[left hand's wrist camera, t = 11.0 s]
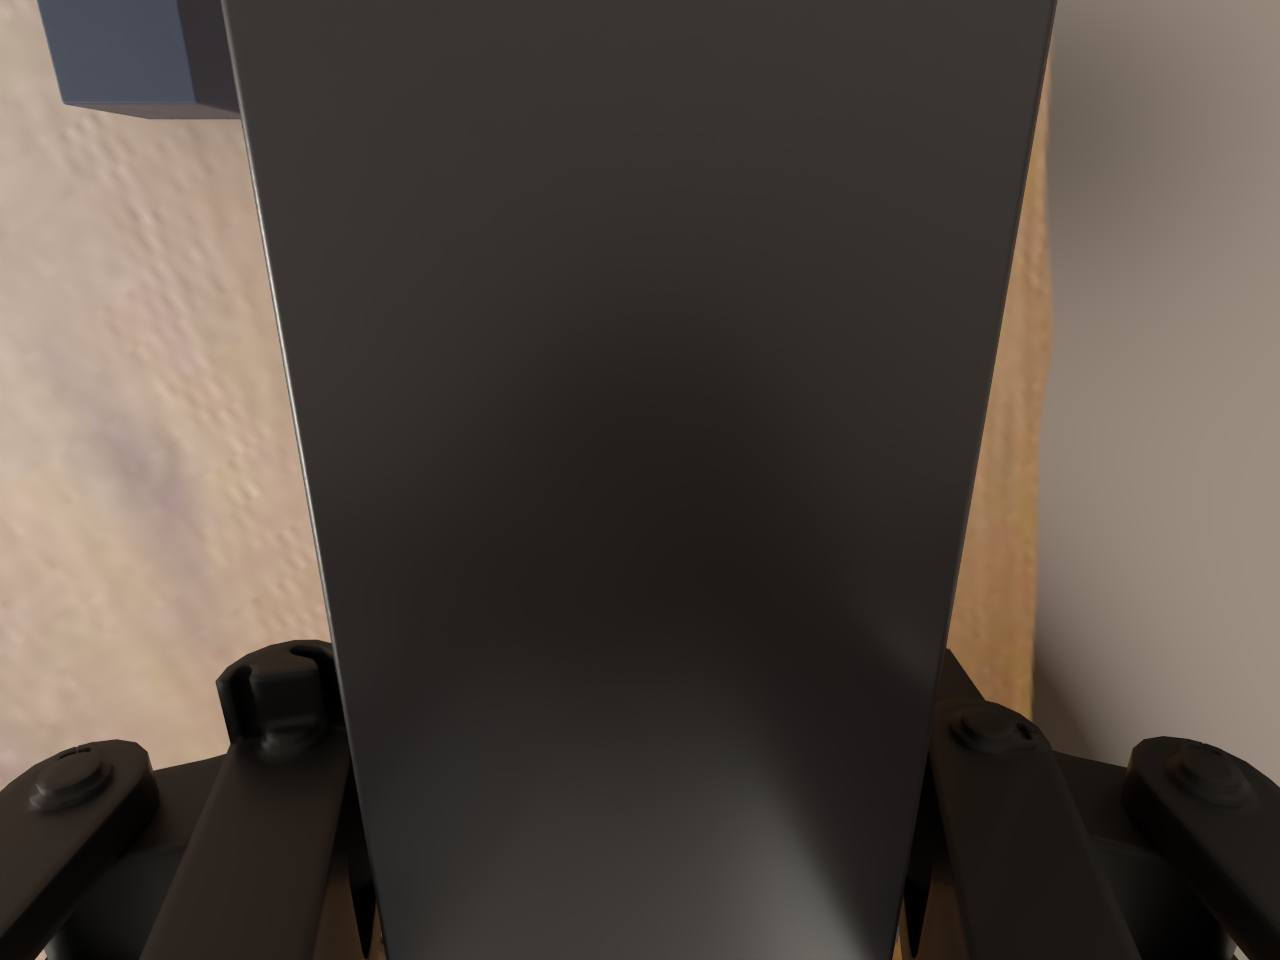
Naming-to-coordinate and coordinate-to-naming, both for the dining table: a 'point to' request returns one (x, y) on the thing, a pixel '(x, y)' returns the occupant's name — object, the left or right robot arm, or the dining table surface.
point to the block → (639, 440)
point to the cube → (142, 57)
